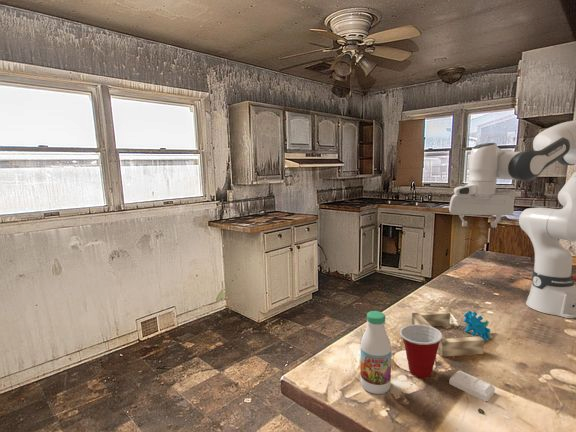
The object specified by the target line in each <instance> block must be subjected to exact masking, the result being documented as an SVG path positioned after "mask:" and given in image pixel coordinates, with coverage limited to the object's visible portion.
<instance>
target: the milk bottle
mask: <svg viewBox="0 0 576 432" xmlns="http://www.w3.org/2000/svg"><path fill="white" fill-rule="evenodd" d="M366 323H367V326H366V328H365V331H364V333H363V335H362V338H361V342H360V361H359V362H360V363H359V364H360V371H359V372H360V374H359V375H360V377H359V378H360V379H359V380H360V385H361V386H362V388H363V389H364V390H365V391H366V392H368V393H370V394H375V395H383V394H386V393H387V392H388V391H390V388H391V382H392V380H391V378H392V375H391V374H392V366H391V365H392V346H391V340H390V338H389V335H388V334H387V331H386V327H385V325H386V314H385V313H384V312H381V311H378V310H372V311H369V312H367V313H366Z"/></svg>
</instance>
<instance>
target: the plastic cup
mask: <svg viewBox="0 0 576 432" xmlns="http://www.w3.org/2000/svg"><path fill="white" fill-rule="evenodd" d="M399 334H400V337H401V338H402V341H403V343H404V347H405V348H404V350H405V353H406V354H405V355H406V362H407V364H408V370H409V373H410V374H411V375H412V376H414V377H416V378H418V379H429V378H430V377H431V376H432V374H433V369H434V366H435V363H436V358H437V353H438V352H437V350H438V347H439V343H440V340H441V338H442V336H443V334H442V332H441V331H440V330H439V329H438V328H435V327H434V326H432V327H431V326H427V325H419V324H414V325H412V324H407V325H406V326H403V327H401V328H400V330H399Z"/></svg>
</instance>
